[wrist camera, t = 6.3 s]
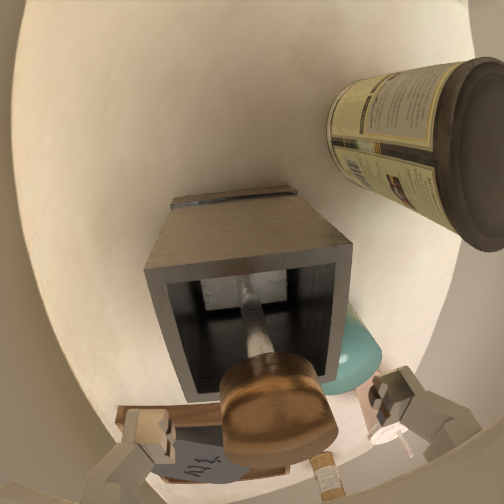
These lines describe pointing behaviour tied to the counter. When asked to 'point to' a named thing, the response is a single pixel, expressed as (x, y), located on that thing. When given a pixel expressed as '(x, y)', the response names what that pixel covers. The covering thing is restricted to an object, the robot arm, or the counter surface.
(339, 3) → the counter surface
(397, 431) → the smoothie
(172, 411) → the wooden square frame
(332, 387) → the teal pillar candle
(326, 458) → the sprinkles bottle
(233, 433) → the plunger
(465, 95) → the coffee can
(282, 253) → the square gray utensil holder
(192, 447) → the streaming box
